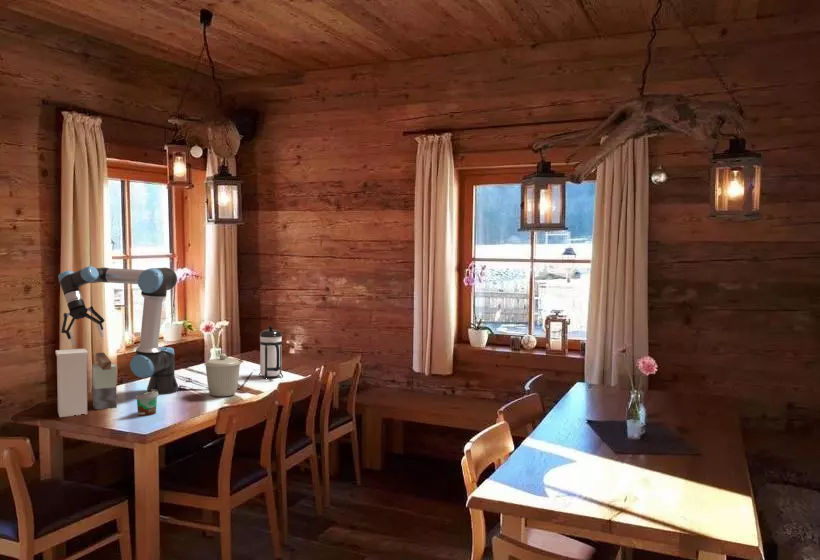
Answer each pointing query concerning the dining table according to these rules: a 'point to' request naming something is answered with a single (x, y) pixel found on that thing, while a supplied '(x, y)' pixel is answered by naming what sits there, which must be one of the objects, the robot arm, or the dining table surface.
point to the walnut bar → (103, 361)
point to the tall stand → (72, 382)
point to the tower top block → (104, 376)
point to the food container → (147, 403)
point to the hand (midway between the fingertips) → (88, 340)
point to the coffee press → (270, 353)
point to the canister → (222, 375)
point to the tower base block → (104, 398)
